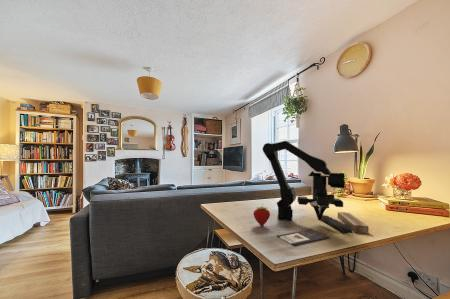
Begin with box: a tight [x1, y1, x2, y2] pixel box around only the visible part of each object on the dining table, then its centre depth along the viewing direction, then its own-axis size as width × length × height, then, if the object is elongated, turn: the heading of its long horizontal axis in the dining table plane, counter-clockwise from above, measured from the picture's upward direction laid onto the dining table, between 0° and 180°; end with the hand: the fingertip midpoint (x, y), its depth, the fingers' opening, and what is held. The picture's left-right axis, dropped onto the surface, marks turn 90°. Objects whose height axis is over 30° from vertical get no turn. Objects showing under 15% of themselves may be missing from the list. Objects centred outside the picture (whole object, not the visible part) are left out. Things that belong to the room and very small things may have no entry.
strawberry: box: [253, 203, 271, 227], centre depth 92 cm, size 6×8×10 cm
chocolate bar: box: [276, 228, 331, 247], centre depth 80 cm, size 9×1×18 cm
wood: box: [321, 214, 354, 234], centre depth 95 cm, size 22×7×3 cm, turn 4°
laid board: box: [337, 211, 369, 234], centre depth 95 cm, size 6×20×3 cm, turn 168°
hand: (319, 220), depth 95 cm, fingers closed
